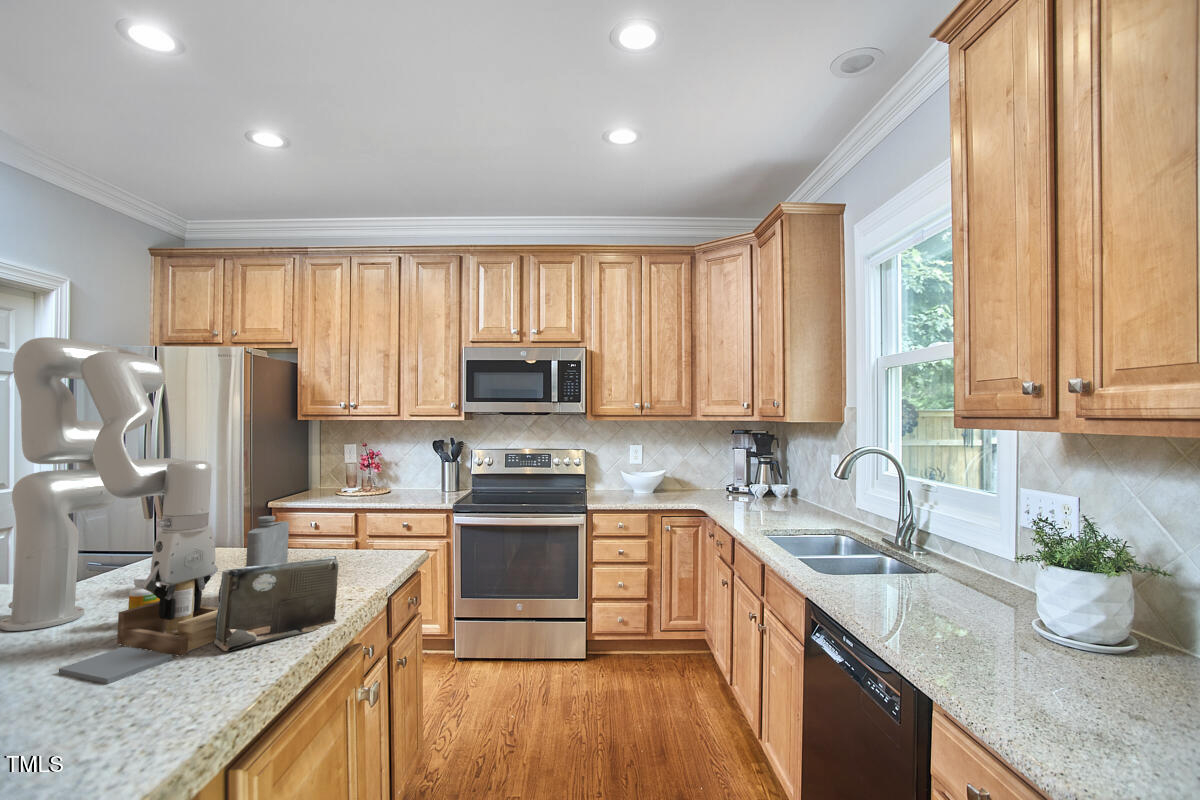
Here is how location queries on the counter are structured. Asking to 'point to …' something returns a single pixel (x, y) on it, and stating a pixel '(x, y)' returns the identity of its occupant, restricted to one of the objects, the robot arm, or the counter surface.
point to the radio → (275, 601)
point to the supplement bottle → (141, 594)
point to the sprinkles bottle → (181, 605)
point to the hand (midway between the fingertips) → (179, 613)
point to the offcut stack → (199, 629)
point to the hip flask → (268, 543)
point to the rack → (152, 630)
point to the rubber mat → (115, 664)
